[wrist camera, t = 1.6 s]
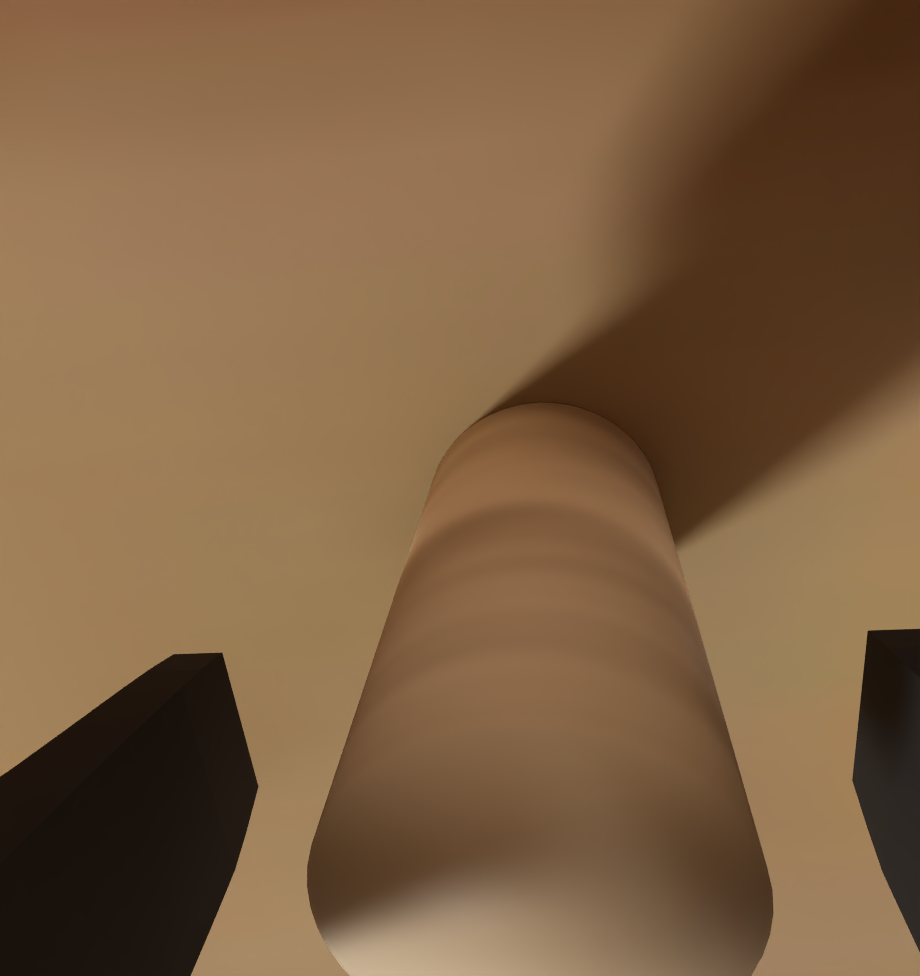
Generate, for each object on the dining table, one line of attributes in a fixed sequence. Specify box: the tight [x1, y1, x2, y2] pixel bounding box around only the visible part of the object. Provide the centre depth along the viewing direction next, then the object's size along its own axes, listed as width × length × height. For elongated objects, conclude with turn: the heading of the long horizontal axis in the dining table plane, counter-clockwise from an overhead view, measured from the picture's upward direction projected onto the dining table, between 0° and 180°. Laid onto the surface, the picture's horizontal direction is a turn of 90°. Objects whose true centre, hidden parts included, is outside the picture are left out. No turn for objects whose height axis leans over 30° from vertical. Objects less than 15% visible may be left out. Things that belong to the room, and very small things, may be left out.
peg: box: [307, 403, 773, 976], centre depth 11 cm, size 4×4×8 cm
